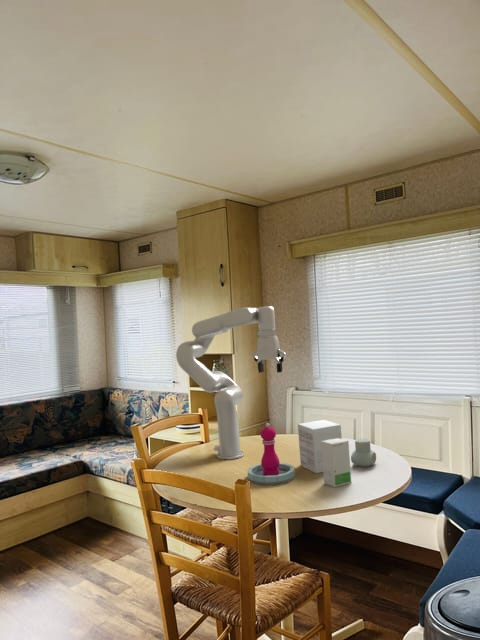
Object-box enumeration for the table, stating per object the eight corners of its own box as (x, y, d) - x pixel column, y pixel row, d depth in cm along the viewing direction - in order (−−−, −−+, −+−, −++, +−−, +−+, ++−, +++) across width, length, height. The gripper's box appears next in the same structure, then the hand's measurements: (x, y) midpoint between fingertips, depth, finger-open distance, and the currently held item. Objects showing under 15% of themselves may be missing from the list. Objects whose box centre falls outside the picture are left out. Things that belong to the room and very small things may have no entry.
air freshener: (358, 460, 202) (356, 436, 202) (377, 462, 198) (376, 437, 198) (350, 468, 192) (348, 443, 192) (370, 470, 188) (368, 444, 188)
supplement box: (327, 460, 206) (324, 419, 206) (344, 467, 193) (341, 424, 194) (299, 465, 201) (296, 423, 201) (315, 473, 189) (312, 429, 189)
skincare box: (334, 488, 171) (331, 444, 171) (322, 483, 177) (319, 441, 177) (352, 483, 175) (349, 440, 175) (340, 478, 181) (337, 437, 181)
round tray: (239, 481, 186) (238, 473, 186) (264, 468, 200) (263, 460, 200) (279, 488, 175) (279, 479, 175) (302, 473, 190) (302, 465, 190)
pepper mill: (260, 472, 191) (257, 422, 191) (278, 470, 192) (275, 420, 192) (263, 478, 184) (259, 425, 184) (281, 476, 185) (278, 424, 185)
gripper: (246, 335, 217) (249, 373, 217) (279, 333, 207) (282, 373, 207) (256, 334, 223) (258, 371, 223) (288, 332, 213) (291, 371, 213)
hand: (270, 372), depth 215 cm, fingers open, 9 cm apart
